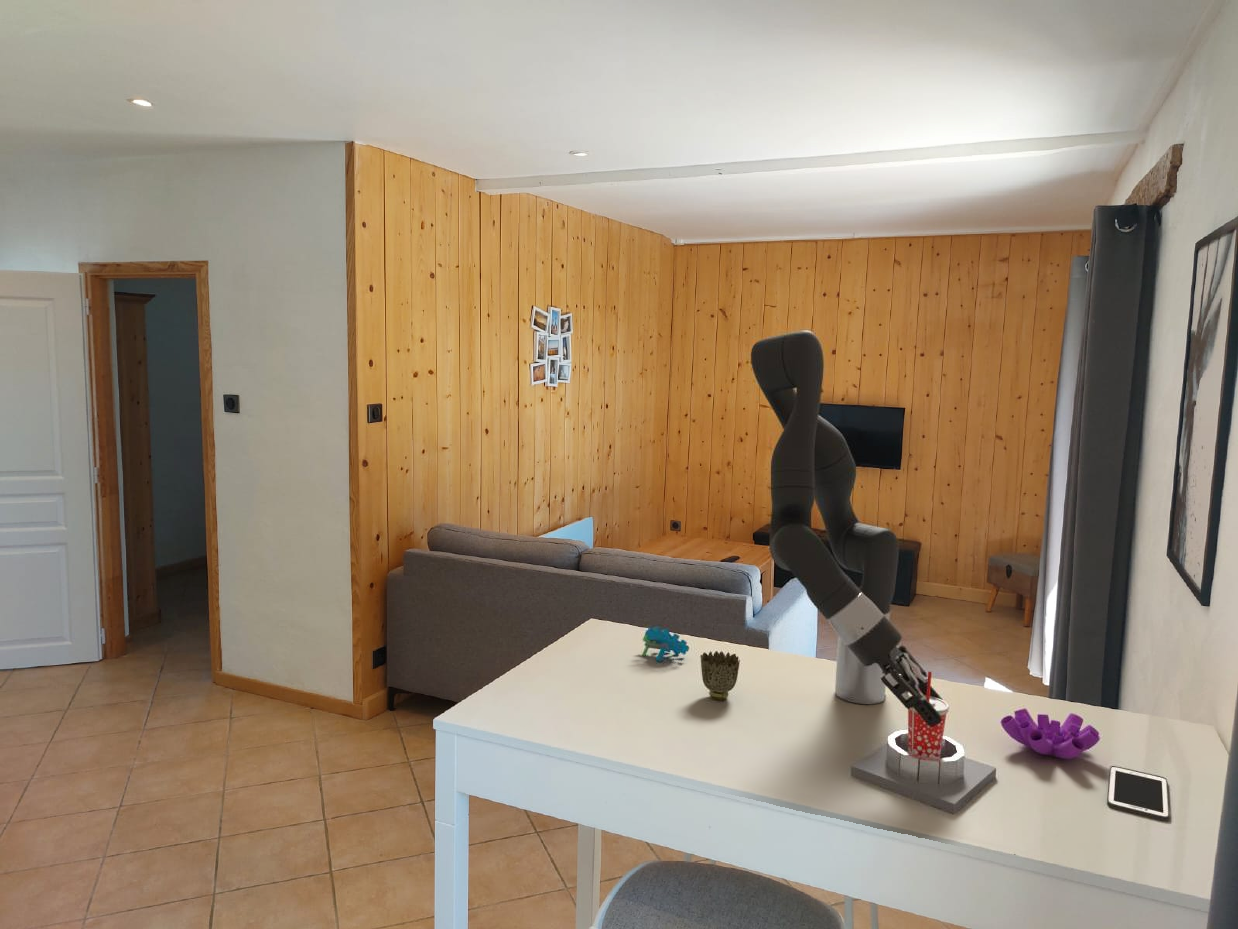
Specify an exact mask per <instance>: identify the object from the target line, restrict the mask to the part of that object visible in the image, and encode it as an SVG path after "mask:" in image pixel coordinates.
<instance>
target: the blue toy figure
mask: <svg viewBox="0 0 1238 929" xmlns="http://www.w3.org/2000/svg"><path fill="white" fill-rule="evenodd" d="M679 639H680V635H679V634H677V633H673V635H672V634H671V633H670V630H669V629H667V628H663V630H661V628H660V627H659V626H654V627H650V626H648V628H647V630H645V633H644V636H643V637H642V641H643V642H645V643H644V644H643V645H644V646H645V648H644V650H643V652H642V653H641V656H642V657H646V656H647V653H648V651H649V649H655V650H659V652H658V654H657V656H656V658H655V661H656V662H658V663H660V662H661V661H662V659H663V656H664V655H665V653H666V652H667V653H671V651H672V652H673V654H674V655H677V656H679V655H680V654H682V655H684V656H685V655H686V653H687V652H689V650H690V647H689V646H688V645H687V643H688V642H687V641H686V640H685V639H681V640H679Z"/></svg>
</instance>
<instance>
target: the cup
mask: <svg viewBox="0 0 1238 929" xmlns="http://www.w3.org/2000/svg"><path fill="white" fill-rule="evenodd" d="M740 662H741V659H739V655H738V656H737V655H736V653H733V654H730V652H729V651H728V652H727V653H726V654H725V653H724V652H723V651H720V652H719V651H718V650H716V651H715V652H714V653H713V652H712V651H709V652H708V654H707V653H706V652H703V653H702V654H700V668H701V677H702V678H701V679H702V682H703V684H704V687H705V688H706V689H708V690H709V692H708V695H709V697H710V699H712V700H716V701H724V700H727V698H728V697H729V694H730V693H729V692H730V691H731V690H733V689H734V688H735V685H736V684H737V681H738V674H739V669H740Z"/></svg>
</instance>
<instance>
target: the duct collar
mask: <svg viewBox="0 0 1238 929" xmlns="http://www.w3.org/2000/svg"><path fill="white" fill-rule="evenodd" d="M886 739H887V741H886V743H887V755H886V760H887V766H888V767H889V768H890V769H892V770H893V771H894V772H895V773H897V774H898V775H900V776H903V777H905V778H908V779H911V780H914V781H916V782H917V781H918V782H922V783H929V784H937V785H938V784H939V785H940V784H948V783H955V782H957V781H958V780H959V779H960V778H962V777H963V773H964V759H965V758H966V756H965V755H966V752H965V750H964V748H963V745H962V744H961V743H959V742H957V741H955V740H954V739H952V738H951V737H949V736H946V735H943V740H942V747H941V754H940V759H934V758H926V757H919V756H916V755H914V754H911V753H908V729H905V730H897V731H894V732H893V733H891V734H889V735H887V738H886Z"/></svg>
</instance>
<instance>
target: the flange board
mask: <svg viewBox="0 0 1238 929" xmlns="http://www.w3.org/2000/svg"><path fill="white" fill-rule="evenodd" d="M886 755H887V742H885V744H883V745H882V746H880V747H878V748H877V749H875V750H874V751H872V752H870V753H869V754H868V755H865V756H864V757H863V758H862V759H860V760H858V761H857V762H855V763H854V764H852V765H851V766H850V767H851V768H850V769H851V770H850V776H852V777H855V778H858V779H860V780H863V781H864V782H865V781H866V782H868V783H871V784H873V785H876V786H879V787H882V788H884V789H886V790H889V791H892V792H894V793H897V794H900V795H903V796H905V797H907V798H911V799H913V800H916V801H918V802H921V803H924V804H926V805H929V806H932V807H934V808H937V809H939V810H942V811H944V812H947V813H949V814H952V815H955V814H956V813H957V812H958V811H959V810H960V809H961V808H962V807H963V806H965V805H966V804H967V803H968V802H969V801H970V800H971V799H972V798H973V797H975V796H976V795H977V794H978V793H979V792H980V791H982V790H983V789H984V788H985V787H986V786H987V785H989V783H991V782H992V781H993V780H994V779H995V778H996V777H997V776H996V775H997V767H996V766H993V765H989V764H985V763H982V762H980V761H977V760H974V759H971V758H968V757H965V759H964V773H963V777H962V778H960V779H959V780H958V781H957V782H955V783H948V784H940V785H939V784H938V785H937V784H929V783H922V782H918V781H917V782H916V781H914V780H911V779H908V778H905V777H903V776H900V775H898V774H897V773H895V772H894V771H893V770H892V769H890V768H889V767H888V766H887V760H886Z"/></svg>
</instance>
